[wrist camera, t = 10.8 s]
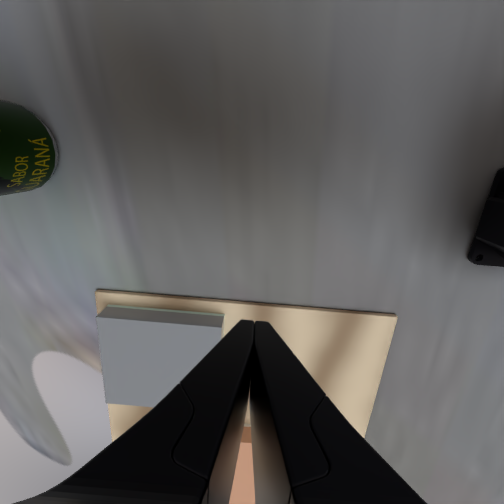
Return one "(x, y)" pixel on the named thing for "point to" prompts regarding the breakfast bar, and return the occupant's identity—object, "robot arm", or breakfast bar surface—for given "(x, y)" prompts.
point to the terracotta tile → (244, 472)
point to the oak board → (298, 340)
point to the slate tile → (151, 350)
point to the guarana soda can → (24, 150)
